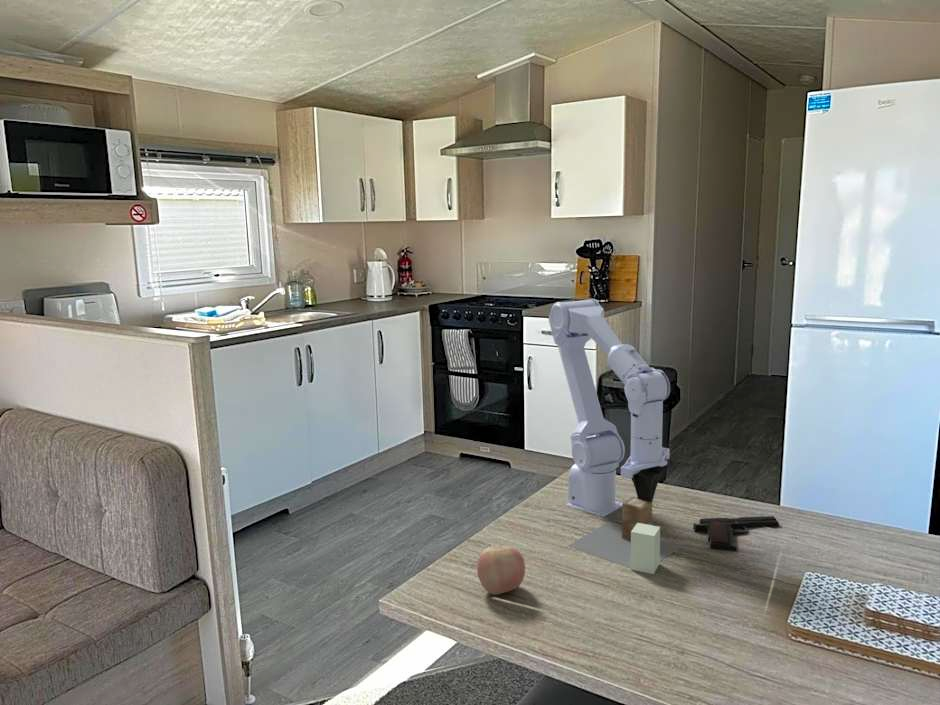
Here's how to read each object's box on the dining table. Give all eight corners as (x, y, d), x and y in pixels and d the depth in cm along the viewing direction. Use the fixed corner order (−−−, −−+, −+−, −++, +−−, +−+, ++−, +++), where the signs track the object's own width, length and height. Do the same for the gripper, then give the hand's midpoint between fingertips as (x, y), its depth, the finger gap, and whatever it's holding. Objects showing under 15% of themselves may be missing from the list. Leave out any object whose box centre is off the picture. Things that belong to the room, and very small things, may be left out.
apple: (530, 584, 122) (529, 540, 120) (517, 607, 115) (516, 561, 113) (485, 577, 124) (484, 534, 123) (470, 600, 117) (469, 554, 116)
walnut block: (621, 538, 136) (622, 503, 135) (633, 531, 139) (633, 496, 138) (640, 544, 134) (641, 508, 132) (651, 537, 137) (652, 502, 135)
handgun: (805, 542, 131) (771, 513, 143) (714, 545, 129) (688, 516, 141) (804, 554, 132) (770, 524, 143) (713, 557, 130) (687, 527, 141)
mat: (567, 547, 134) (567, 545, 134) (609, 523, 144) (609, 521, 144) (644, 575, 123) (644, 572, 123) (683, 546, 133) (683, 544, 133)
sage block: (630, 569, 125) (630, 531, 123) (636, 559, 128) (637, 522, 127) (653, 574, 123) (654, 536, 121) (659, 564, 126) (660, 526, 125)
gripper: (645, 449, 127) (644, 521, 130) (684, 429, 137) (682, 497, 140) (611, 441, 132) (610, 511, 134) (651, 423, 142) (650, 488, 145)
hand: (645, 503), depth 137 cm, fingers closed
